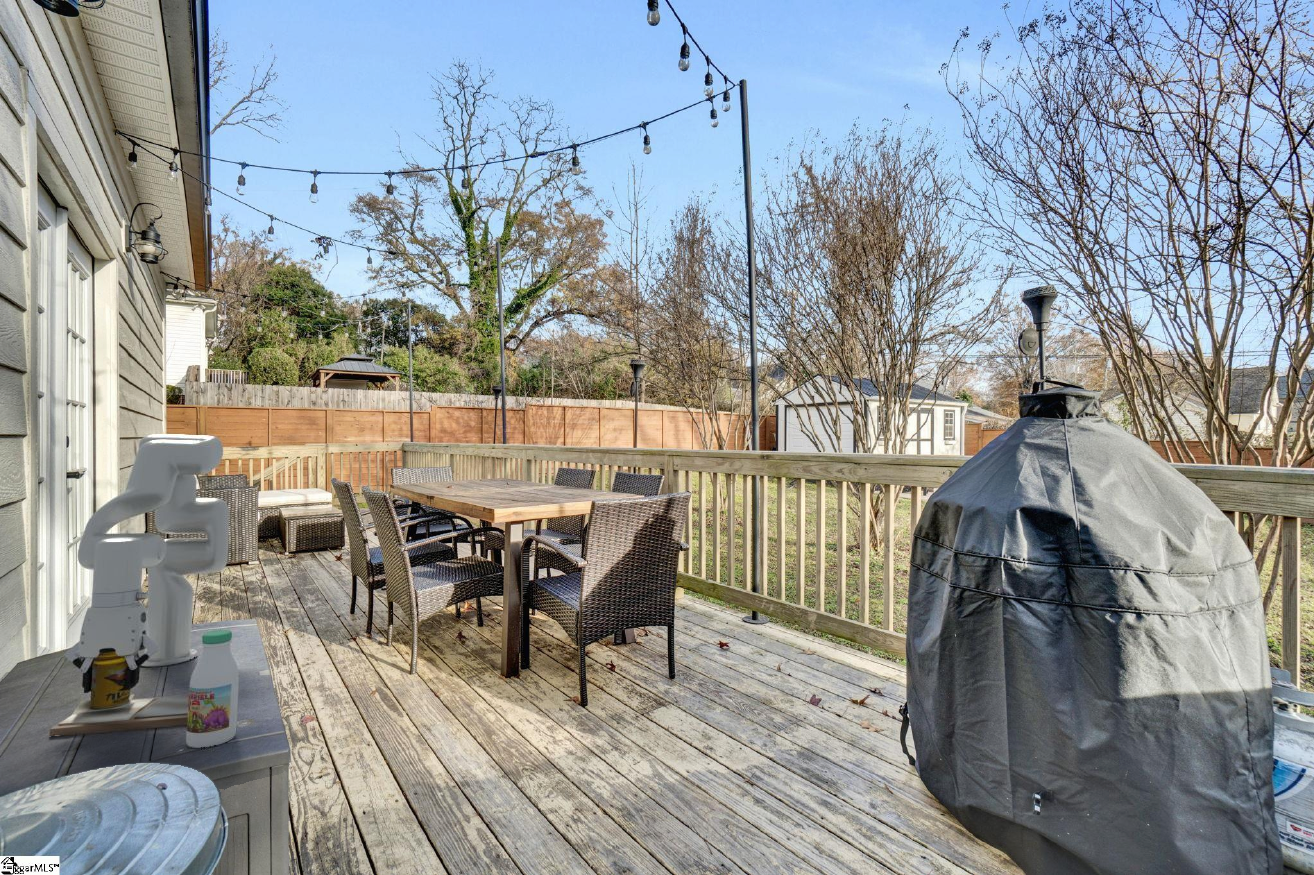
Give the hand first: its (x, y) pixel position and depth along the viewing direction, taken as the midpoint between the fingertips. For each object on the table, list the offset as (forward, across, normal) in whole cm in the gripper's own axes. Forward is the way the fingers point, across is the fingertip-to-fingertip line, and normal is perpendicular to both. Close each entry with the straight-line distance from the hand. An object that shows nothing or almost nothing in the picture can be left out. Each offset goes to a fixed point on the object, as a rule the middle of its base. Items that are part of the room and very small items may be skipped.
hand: (110, 688), depth 125 cm
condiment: (+3, +1, 0) cm, 4 cm away
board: (+6, -6, 0) cm, 9 cm away
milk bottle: (+6, -23, +16) cm, 29 cm away
